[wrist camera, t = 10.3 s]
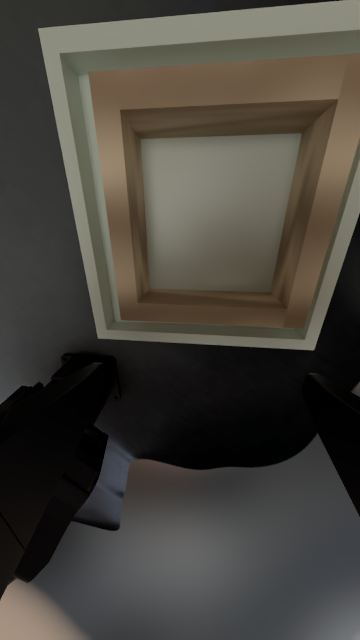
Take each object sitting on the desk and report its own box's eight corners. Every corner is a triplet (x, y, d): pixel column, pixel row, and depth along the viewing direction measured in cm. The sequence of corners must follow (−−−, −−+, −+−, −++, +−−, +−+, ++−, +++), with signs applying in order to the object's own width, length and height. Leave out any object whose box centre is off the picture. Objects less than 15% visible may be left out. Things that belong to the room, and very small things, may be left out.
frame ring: (284, 308, 19) (303, 328, 15) (135, 303, 20) (120, 320, 16) (333, 101, 13) (385, 51, 9) (117, 111, 14) (87, 71, 10)
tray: (301, 336, 20) (313, 350, 18) (108, 326, 22) (98, 338, 20) (388, 37, 12) (432, -8, 10) (65, 61, 14) (38, 28, 11)
